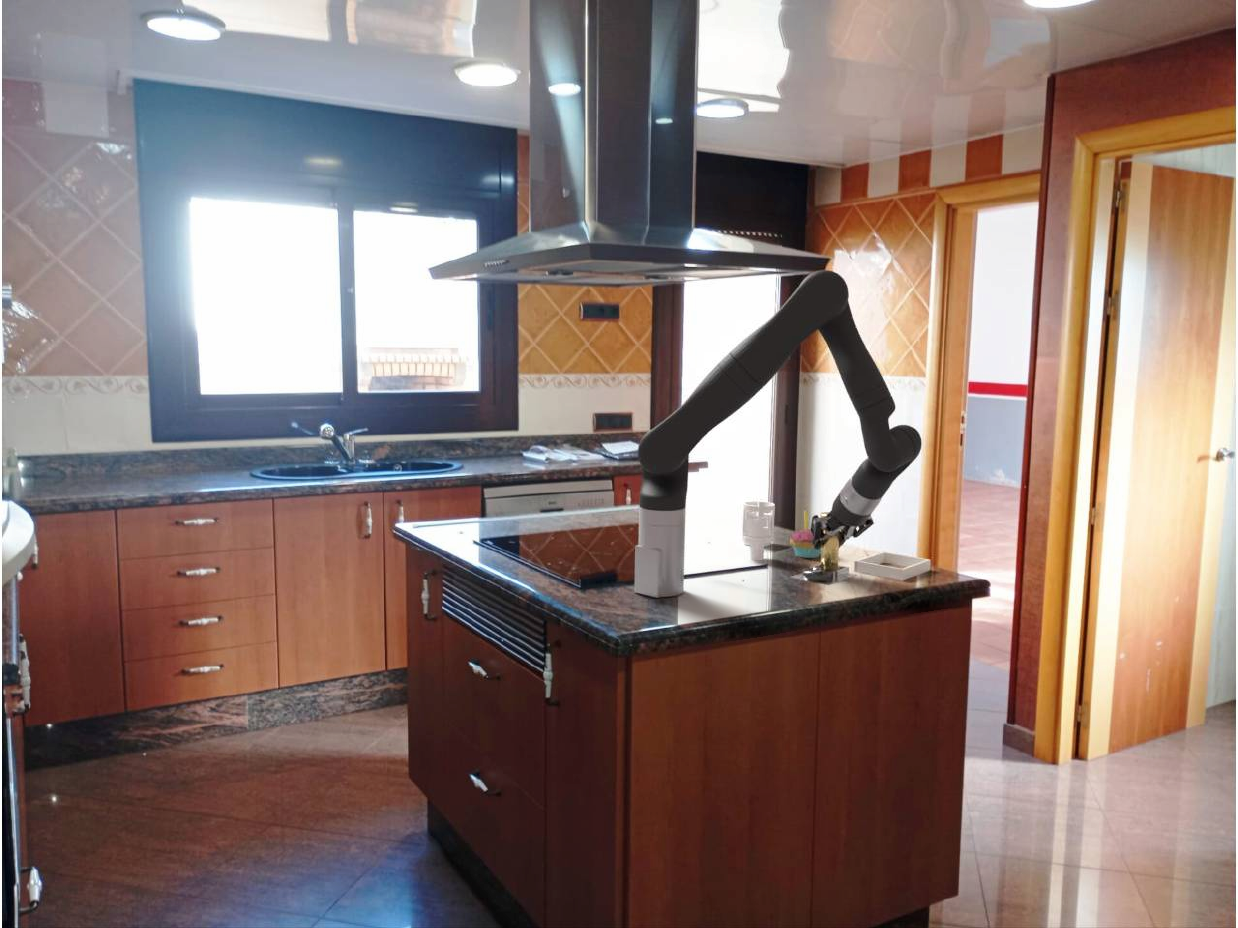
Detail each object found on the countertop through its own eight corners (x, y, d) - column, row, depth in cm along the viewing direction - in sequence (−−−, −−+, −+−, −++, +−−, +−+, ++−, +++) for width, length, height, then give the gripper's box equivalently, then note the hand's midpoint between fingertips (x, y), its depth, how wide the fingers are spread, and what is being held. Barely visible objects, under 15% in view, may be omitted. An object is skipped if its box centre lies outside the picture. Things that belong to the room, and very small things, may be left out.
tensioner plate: (827, 590, 200) (828, 574, 200) (789, 582, 206) (790, 566, 206) (856, 580, 209) (857, 564, 208) (819, 572, 215) (820, 557, 214)
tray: (902, 586, 205) (902, 569, 204) (853, 576, 212) (854, 560, 212) (929, 575, 214) (930, 559, 214) (882, 566, 222) (883, 551, 221)
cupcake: (782, 557, 230) (784, 506, 228) (813, 554, 233) (815, 505, 231) (801, 565, 222) (803, 513, 220) (833, 563, 225) (836, 511, 223)
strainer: (743, 567, 219) (745, 501, 217) (738, 560, 226) (740, 495, 224) (775, 567, 219) (777, 501, 217) (769, 560, 226) (771, 496, 224)
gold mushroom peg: (832, 578, 206) (835, 516, 204) (813, 574, 209) (816, 513, 207) (843, 574, 209) (846, 514, 207) (824, 570, 212) (827, 511, 210)
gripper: (882, 482, 201) (848, 529, 214) (820, 485, 197) (789, 532, 210) (896, 512, 197) (860, 558, 210) (833, 515, 193) (800, 562, 206)
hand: (825, 545), depth 210 cm, fingers open, 4 cm apart
